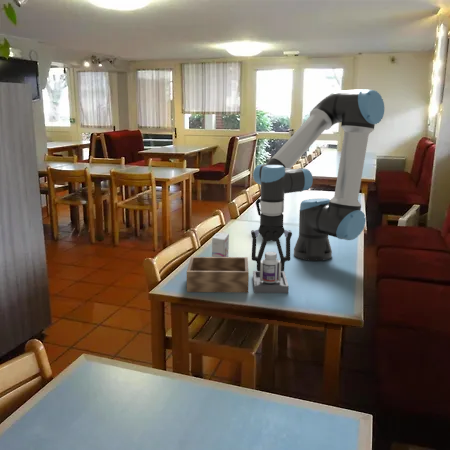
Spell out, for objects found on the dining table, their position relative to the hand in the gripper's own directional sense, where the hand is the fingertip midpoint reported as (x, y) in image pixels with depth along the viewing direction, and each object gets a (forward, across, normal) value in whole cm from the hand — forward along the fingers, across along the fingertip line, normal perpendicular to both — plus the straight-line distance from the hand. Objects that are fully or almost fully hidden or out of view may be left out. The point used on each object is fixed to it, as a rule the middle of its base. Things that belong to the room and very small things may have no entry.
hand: (270, 279), depth 156 cm
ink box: (+2, +18, -19) cm, 26 cm away
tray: (+2, 0, 0) cm, 2 cm away
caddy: (+2, +18, 0) cm, 18 cm away
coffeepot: (+2, -3, -66) cm, 66 cm away
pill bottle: (+1, 0, 0) cm, 1 cm away
